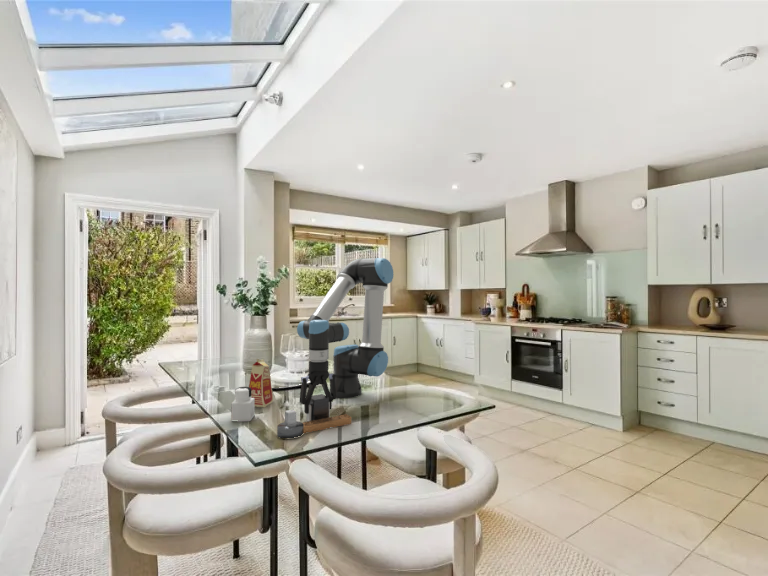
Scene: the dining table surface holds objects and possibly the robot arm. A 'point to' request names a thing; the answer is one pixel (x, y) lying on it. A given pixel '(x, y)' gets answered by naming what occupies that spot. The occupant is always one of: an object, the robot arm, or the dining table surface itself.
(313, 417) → the dark grey block
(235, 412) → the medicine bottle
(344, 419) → the hammer
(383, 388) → the dining table surface
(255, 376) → the milk carton
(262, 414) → the dining table surface
